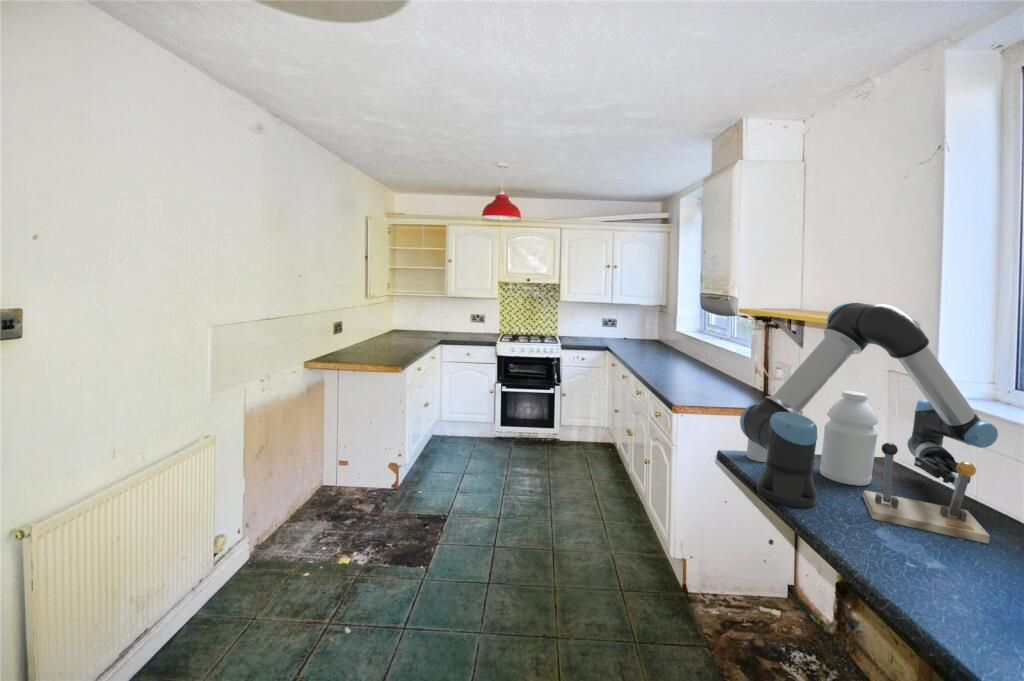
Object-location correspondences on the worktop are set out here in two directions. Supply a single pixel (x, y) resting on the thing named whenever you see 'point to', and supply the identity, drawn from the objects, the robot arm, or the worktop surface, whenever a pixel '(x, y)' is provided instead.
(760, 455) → the milk bottle
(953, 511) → the orange knob lever
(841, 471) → the bottle
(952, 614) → the worktop surface
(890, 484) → the black knob lever
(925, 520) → the switch board
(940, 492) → the worktop surface
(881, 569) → the worktop surface
